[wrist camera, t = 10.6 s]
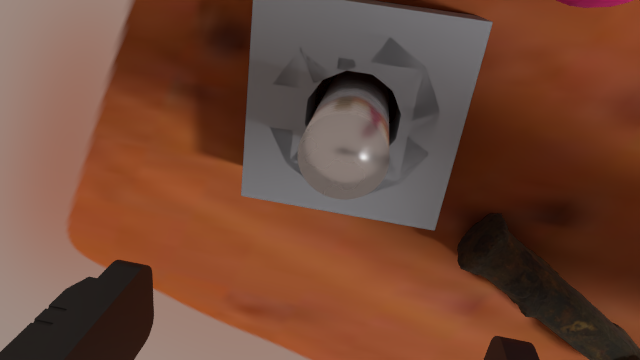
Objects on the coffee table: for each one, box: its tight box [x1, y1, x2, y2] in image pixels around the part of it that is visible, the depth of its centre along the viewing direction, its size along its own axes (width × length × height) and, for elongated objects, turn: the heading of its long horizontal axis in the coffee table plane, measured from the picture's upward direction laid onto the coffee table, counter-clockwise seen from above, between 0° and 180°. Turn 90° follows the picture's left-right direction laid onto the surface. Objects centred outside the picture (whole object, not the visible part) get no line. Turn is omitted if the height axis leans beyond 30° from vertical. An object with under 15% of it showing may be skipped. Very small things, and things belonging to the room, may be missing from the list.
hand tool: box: [458, 213, 640, 360], centre depth 31 cm, size 19×4×5 cm, turn 49°
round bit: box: [297, 71, 389, 200], centre depth 24 cm, size 4×4×10 cm
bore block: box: [241, 0, 493, 231], centre depth 27 cm, size 12×12×4 cm
